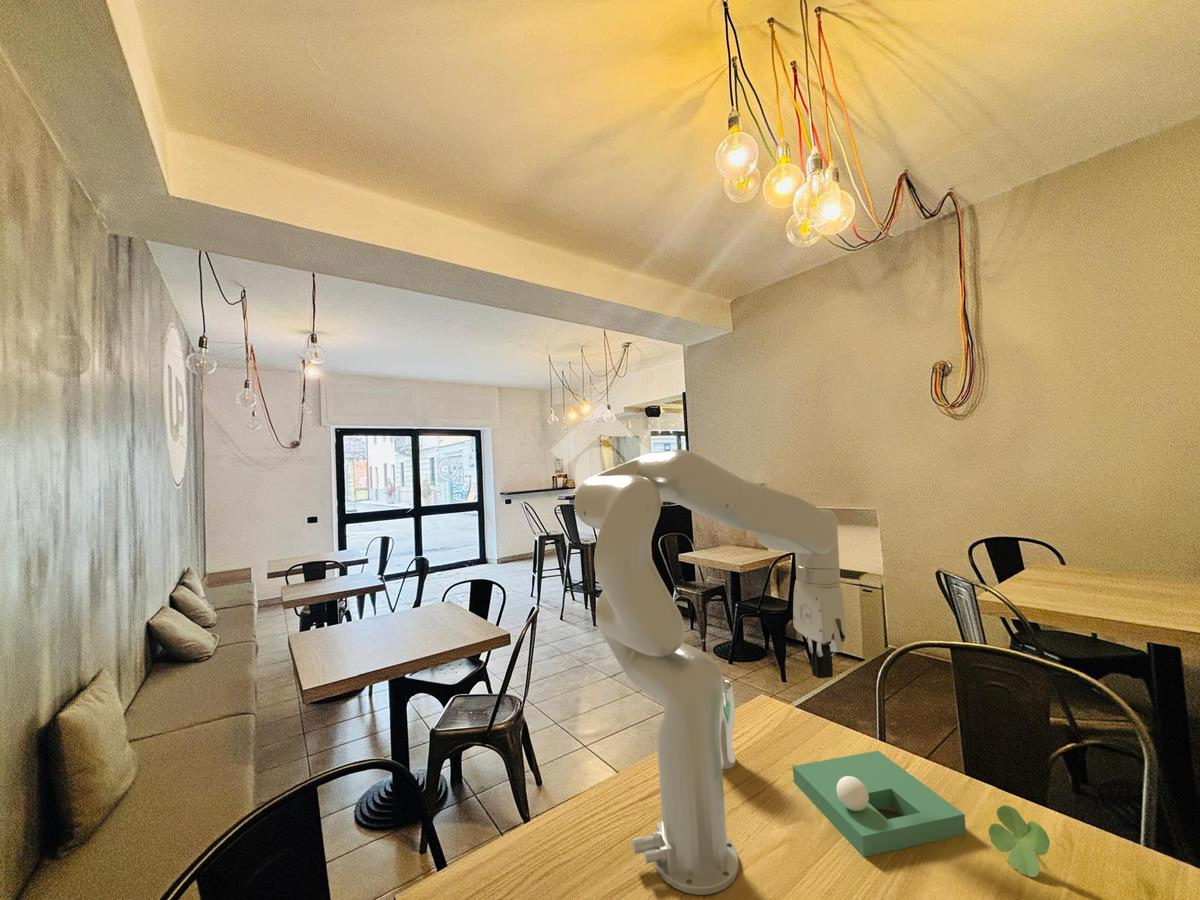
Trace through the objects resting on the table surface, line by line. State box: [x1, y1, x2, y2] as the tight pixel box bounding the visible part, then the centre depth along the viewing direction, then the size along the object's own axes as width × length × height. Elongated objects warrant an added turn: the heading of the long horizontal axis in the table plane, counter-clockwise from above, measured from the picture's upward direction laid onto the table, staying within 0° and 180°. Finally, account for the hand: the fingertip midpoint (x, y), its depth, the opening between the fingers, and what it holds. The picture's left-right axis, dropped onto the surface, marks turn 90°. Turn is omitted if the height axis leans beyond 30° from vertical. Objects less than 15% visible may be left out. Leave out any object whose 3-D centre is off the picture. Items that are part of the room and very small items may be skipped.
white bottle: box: [720, 678, 736, 770], centre depth 98 cm, size 7×7×15 cm
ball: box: [837, 776, 869, 811], centre depth 78 cm, size 5×5×5 cm
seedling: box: [988, 804, 1051, 878], centre depth 71 cm, size 7×8×6 cm
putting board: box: [792, 750, 967, 858], centre depth 83 cm, size 18×18×3 cm
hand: (822, 675), depth 90 cm, fingers closed
